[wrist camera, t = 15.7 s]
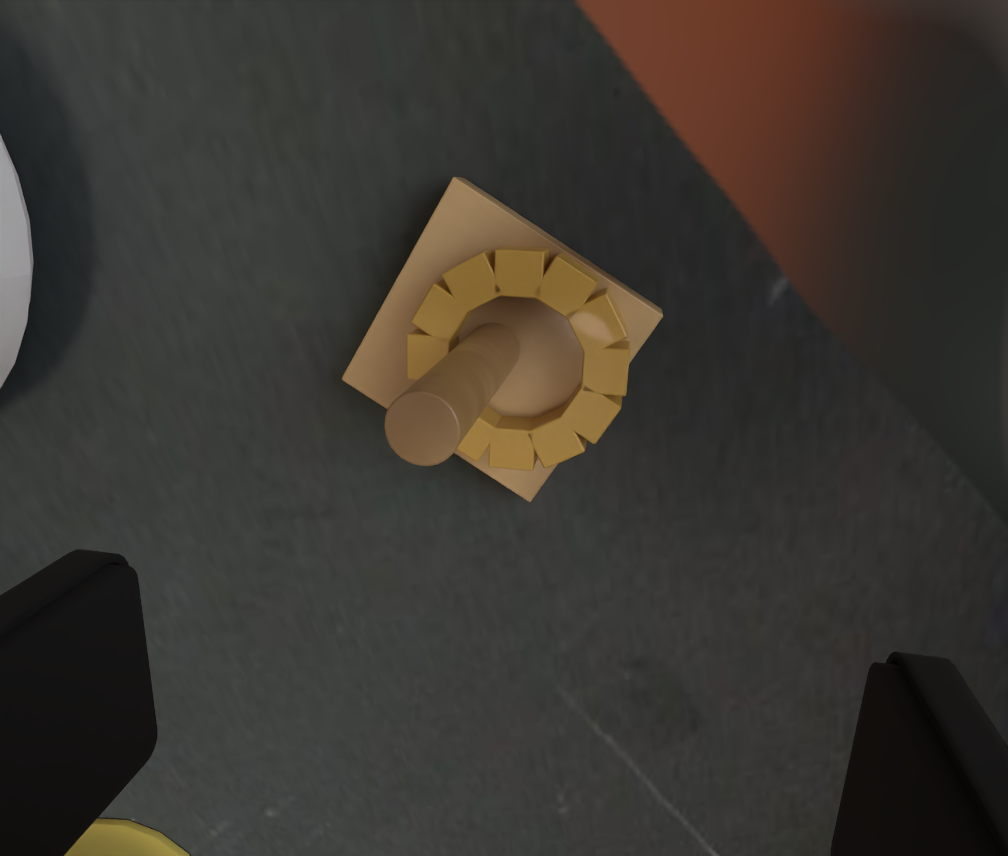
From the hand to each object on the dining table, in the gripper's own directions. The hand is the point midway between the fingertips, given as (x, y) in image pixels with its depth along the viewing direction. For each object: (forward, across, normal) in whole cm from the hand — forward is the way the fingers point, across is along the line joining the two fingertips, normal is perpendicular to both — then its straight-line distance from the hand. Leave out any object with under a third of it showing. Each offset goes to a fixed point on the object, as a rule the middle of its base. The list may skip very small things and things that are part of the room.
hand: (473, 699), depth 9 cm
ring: (+20, +2, 0) cm, 20 cm away
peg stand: (+21, +4, 0) cm, 21 cm away
